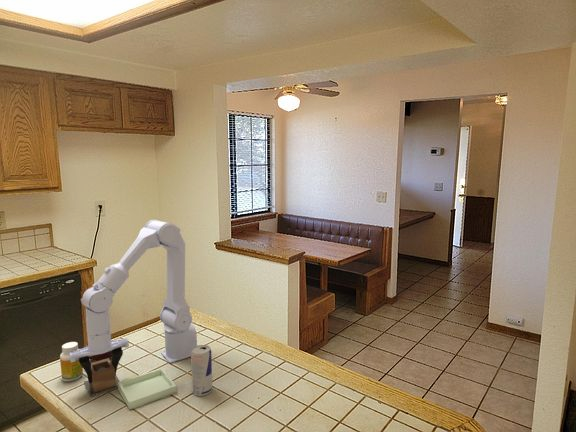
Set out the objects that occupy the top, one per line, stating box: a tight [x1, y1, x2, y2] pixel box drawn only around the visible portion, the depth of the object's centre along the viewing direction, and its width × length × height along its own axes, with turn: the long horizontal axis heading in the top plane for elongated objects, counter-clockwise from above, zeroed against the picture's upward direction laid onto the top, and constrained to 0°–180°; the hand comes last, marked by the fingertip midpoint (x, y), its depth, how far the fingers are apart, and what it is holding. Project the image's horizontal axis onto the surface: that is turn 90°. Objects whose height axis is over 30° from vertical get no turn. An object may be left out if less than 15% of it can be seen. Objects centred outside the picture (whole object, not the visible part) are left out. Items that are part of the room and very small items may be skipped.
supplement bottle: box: [59, 341, 84, 382], centre depth 112 cm, size 5×5×10 cm
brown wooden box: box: [91, 358, 116, 392], centre depth 108 cm, size 7×5×5 cm
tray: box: [117, 367, 178, 411], centre depth 106 cm, size 12×11×2 cm
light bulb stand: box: [83, 368, 120, 398], centre depth 108 cm, size 8×8×5 cm
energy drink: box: [190, 344, 213, 397], centre depth 105 cm, size 5×5×12 cm
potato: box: [89, 351, 111, 362], centre depth 122 cm, size 7×8×6 cm
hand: (102, 377), depth 108 cm, fingers closed on brown wooden box, 5 cm apart
